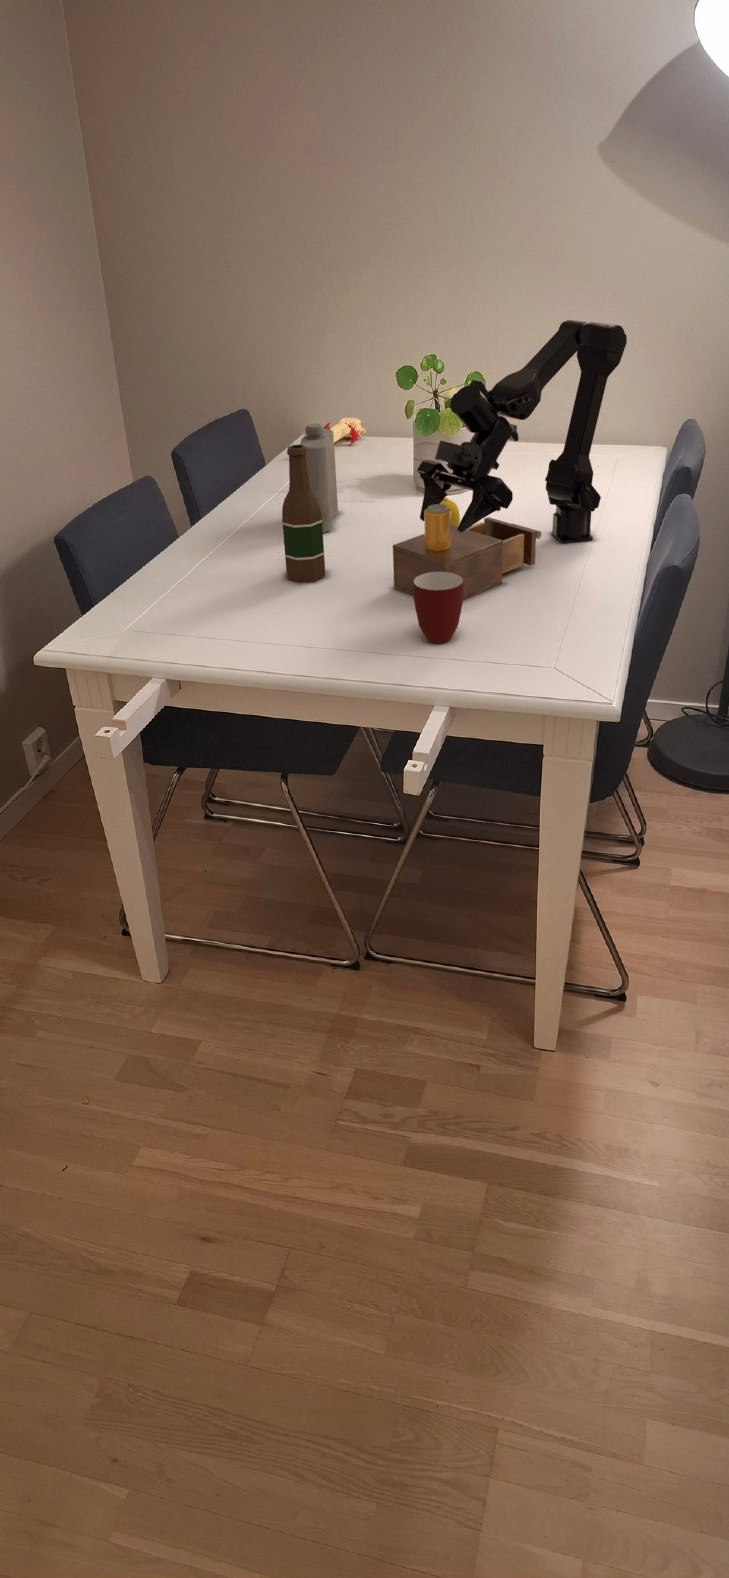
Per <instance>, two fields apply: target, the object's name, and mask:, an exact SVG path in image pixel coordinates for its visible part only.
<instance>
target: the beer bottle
mask: <svg viewBox="0 0 729 1578" xmlns="http://www.w3.org/2000/svg"><path fill="white" fill-rule="evenodd" d="M286 454H287V456H288V472H289V474H288V475H289V476H288V477H289V483H288V484H289V485H288V486H289V487H288V492H287V493H286V496H285V497H284V499H283V503H282V507H281V516H282V517H281V521H282V533H283V534H282V535H283V536H282V537H283V546H284V547H283V548H284V558H285V569H286V575H287V579H288V580H289V581H293V582H296V583H313V582H317V581H319V580H321V579H323V578H325V576H326V561H325V550H324V549H325V548H324V533H323V529H322V515H321V508H320V504H319V501H318V499H317V497H316V496H315V494H314V493H313V492H312V490H311V487H310V483H309V477H308V469H307V461H306V454H307V449H306V446H304V445H300V444H291V445H290V446H287V450H286Z"/></svg>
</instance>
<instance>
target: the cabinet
mask: <svg viewBox="0 0 729 1578" xmlns="http://www.w3.org/2000/svg"><path fill="white" fill-rule="evenodd" d="M457 529H458V527H457V526H453V525H451V547H450V548H449V549H446V550H441V551H433V550H428V549H426V548H425V533H423V534H420V535H417V536H415V537H412V538H409V539H405V540H403V541H400V542H397V543H395V544H392V567H393V589H394V590H397V591H399V592H403V593H405V594H408V595H411V596H413V580H414V579H415V578H416V577H417V576H419V575H422V574H425V573H430V572H449V573H454V574H457V575H459V576H461V577H462V578H463V581H464V597H463V601H465V600H468V599H470V598H472V597H475V596H477V595H480V594H483V593H484V592H486V591H489V590H491V589H495V588H496V587H498V586H501V585H503V574H502V568H503V540H500V539H496V538H493V537H490V536H487V535H483V534H480V533H477V532H473V531H470V530H467V529H466V530H465V531H464V532H462V533H461V532H459V531H458V530H457Z"/></svg>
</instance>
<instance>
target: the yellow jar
mask: <svg viewBox="0 0 729 1578" xmlns="http://www.w3.org/2000/svg"><path fill="white" fill-rule="evenodd" d="M423 522H424V534H425V548H426V549H428V550H433V551H441V550H446V549H449V548H450V547H451V510H450V509H449V508H447V506H446V505H442V504H435V505H430V506H428V508H427V509H425V511H424V521H423Z"/></svg>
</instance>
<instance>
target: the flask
mask: <svg viewBox="0 0 729 1578" xmlns="http://www.w3.org/2000/svg"><path fill="white" fill-rule="evenodd" d="M304 428H305V430H304V431H305V435H303V437H302V438H301V440H300V443H299V445H304V446H306V449H307V454H306V461H307V469H308V477H309V483H310V487H311V490H312V492H313V493H314V494H315V496H316V497H317V499H318V501H319V504H320V508H321V515H322V529H323V534H325V533H328V532H330V531H331V530H332V529H333V527H332V521H333V519H334V518H335V517H336V516H337V515H338V514H339V505H338V504H339V501H338V487H337V469H336V468H337V467H336V452H335V451H336V450H335V443H334V434H333V431H332V430H330V429H331V428H330V429H324V425H321V424H320V423H310V424H307V425H306V426H305V427H304Z"/></svg>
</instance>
